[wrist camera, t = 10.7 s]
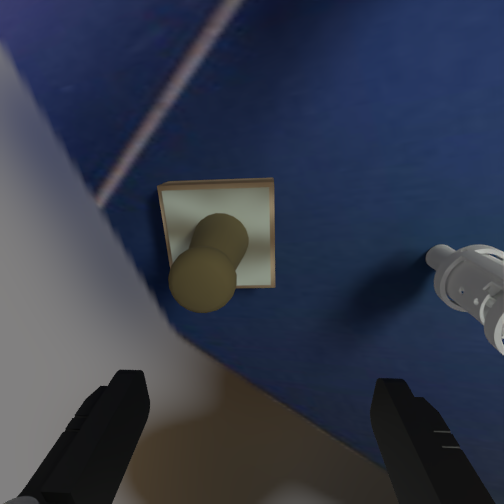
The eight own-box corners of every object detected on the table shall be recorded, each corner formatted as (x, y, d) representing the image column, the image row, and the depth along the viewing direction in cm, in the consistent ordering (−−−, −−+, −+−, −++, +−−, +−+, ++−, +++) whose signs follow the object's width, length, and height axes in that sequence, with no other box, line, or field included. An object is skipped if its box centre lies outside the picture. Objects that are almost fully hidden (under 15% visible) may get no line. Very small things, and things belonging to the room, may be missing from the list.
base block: (168, 181, 32) (155, 186, 28) (273, 177, 31) (274, 182, 28) (182, 275, 36) (172, 290, 33) (274, 273, 36) (275, 288, 32)
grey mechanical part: (476, 266, 34) (622, 353, 20) (418, 290, 36) (517, 386, 22) (461, 217, 32) (611, 276, 18) (400, 245, 34) (496, 318, 20)
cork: (199, 268, 31) (167, 329, 21) (187, 216, 29) (146, 256, 19) (252, 262, 31) (246, 322, 21) (244, 209, 29) (232, 246, 18)
